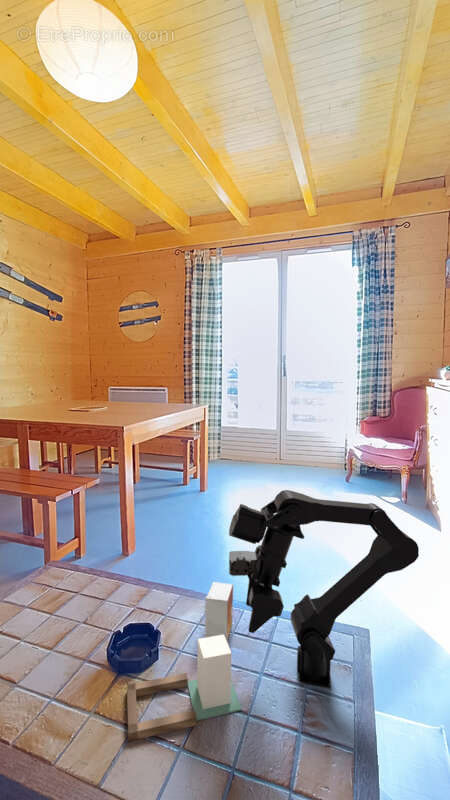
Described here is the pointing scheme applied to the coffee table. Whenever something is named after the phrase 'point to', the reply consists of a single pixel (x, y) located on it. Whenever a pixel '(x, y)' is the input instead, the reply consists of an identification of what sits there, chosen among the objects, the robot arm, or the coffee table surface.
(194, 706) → the green mat
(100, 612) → the coffee table surface
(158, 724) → the brown wooden frame
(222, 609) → the small box
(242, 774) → the coffee table surface
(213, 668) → the cream block
